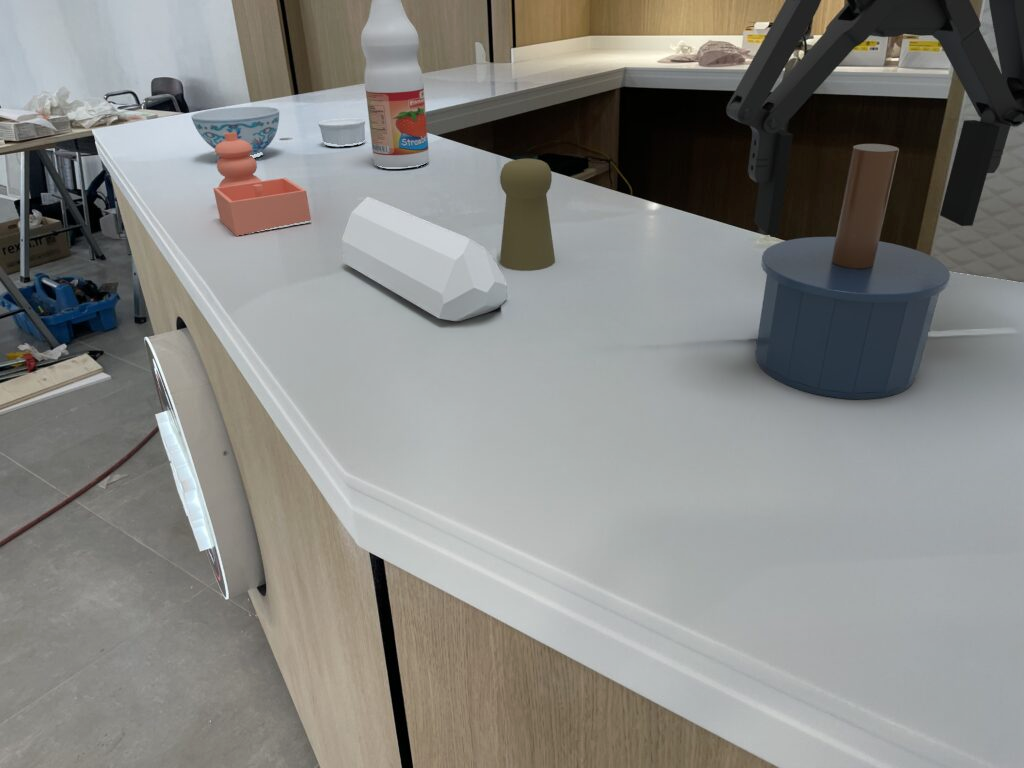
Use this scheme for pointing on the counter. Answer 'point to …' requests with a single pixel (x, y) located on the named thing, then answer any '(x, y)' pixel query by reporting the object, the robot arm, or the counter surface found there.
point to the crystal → (423, 262)
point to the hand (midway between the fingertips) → (861, 225)
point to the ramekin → (343, 130)
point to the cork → (526, 216)
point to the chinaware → (239, 125)
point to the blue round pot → (841, 342)
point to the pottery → (254, 192)
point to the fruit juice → (394, 87)
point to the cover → (859, 245)
